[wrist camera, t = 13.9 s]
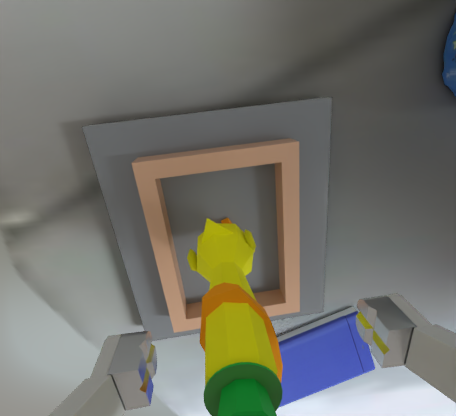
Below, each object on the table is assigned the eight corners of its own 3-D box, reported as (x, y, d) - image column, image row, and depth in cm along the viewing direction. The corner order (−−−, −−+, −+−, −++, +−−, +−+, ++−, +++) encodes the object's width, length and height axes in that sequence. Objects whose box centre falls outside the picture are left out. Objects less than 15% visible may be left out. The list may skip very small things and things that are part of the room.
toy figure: (263, 267, 19) (350, 505, 7) (216, 283, 19) (232, 540, 8) (232, 180, 16) (294, 343, 5) (178, 200, 16) (122, 401, 5)
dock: (320, 97, 16) (345, 96, 14) (315, 299, 22) (332, 326, 20) (92, 124, 16) (69, 129, 13) (151, 326, 22) (144, 359, 19)
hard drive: (259, 417, 26) (376, 371, 26) (227, 368, 23) (360, 314, 22) (256, 401, 28) (367, 357, 27) (225, 352, 24) (350, 301, 24)
